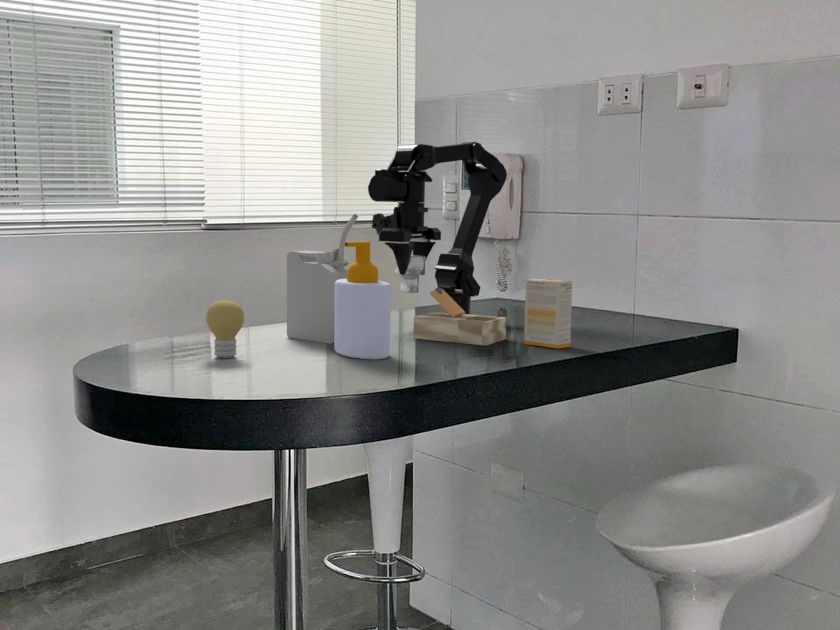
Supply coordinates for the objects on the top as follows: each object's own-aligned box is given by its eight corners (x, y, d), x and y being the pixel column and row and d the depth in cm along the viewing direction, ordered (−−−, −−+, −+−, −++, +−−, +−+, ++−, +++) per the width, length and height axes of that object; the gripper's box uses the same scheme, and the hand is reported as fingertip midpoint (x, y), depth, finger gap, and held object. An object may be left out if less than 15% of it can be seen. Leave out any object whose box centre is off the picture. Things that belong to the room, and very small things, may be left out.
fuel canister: (360, 342, 174) (362, 214, 171) (343, 345, 170) (344, 214, 167) (304, 334, 183) (304, 212, 180) (286, 337, 179) (286, 212, 176)
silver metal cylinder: (403, 289, 201) (404, 254, 200) (429, 291, 198) (430, 256, 197) (389, 292, 196) (390, 255, 195) (415, 294, 193) (416, 257, 192)
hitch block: (435, 332, 190) (435, 311, 189) (505, 339, 182) (506, 317, 182) (413, 338, 181) (413, 316, 180) (486, 345, 173) (486, 322, 173)
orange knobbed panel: (463, 315, 183) (467, 309, 183) (452, 317, 179) (457, 311, 178) (438, 290, 185) (443, 284, 185) (428, 292, 181) (432, 286, 180)
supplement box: (571, 347, 174) (574, 280, 172) (557, 349, 171) (560, 281, 169) (536, 341, 180) (539, 277, 178) (522, 344, 176) (524, 278, 174)
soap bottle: (323, 351, 164) (323, 240, 161) (360, 347, 169) (361, 240, 166) (363, 362, 153) (364, 244, 151) (401, 357, 158) (403, 243, 156)
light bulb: (225, 361, 151) (225, 303, 149) (198, 357, 154) (198, 300, 153) (251, 356, 156) (251, 300, 155) (225, 353, 159) (224, 297, 158)
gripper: (399, 202, 207) (398, 269, 208) (357, 201, 190) (356, 274, 192) (442, 203, 201) (441, 272, 203) (403, 202, 185) (402, 277, 187)
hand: (410, 273), depth 197 cm, fingers closed on silver metal cylinder, 7 cm apart
